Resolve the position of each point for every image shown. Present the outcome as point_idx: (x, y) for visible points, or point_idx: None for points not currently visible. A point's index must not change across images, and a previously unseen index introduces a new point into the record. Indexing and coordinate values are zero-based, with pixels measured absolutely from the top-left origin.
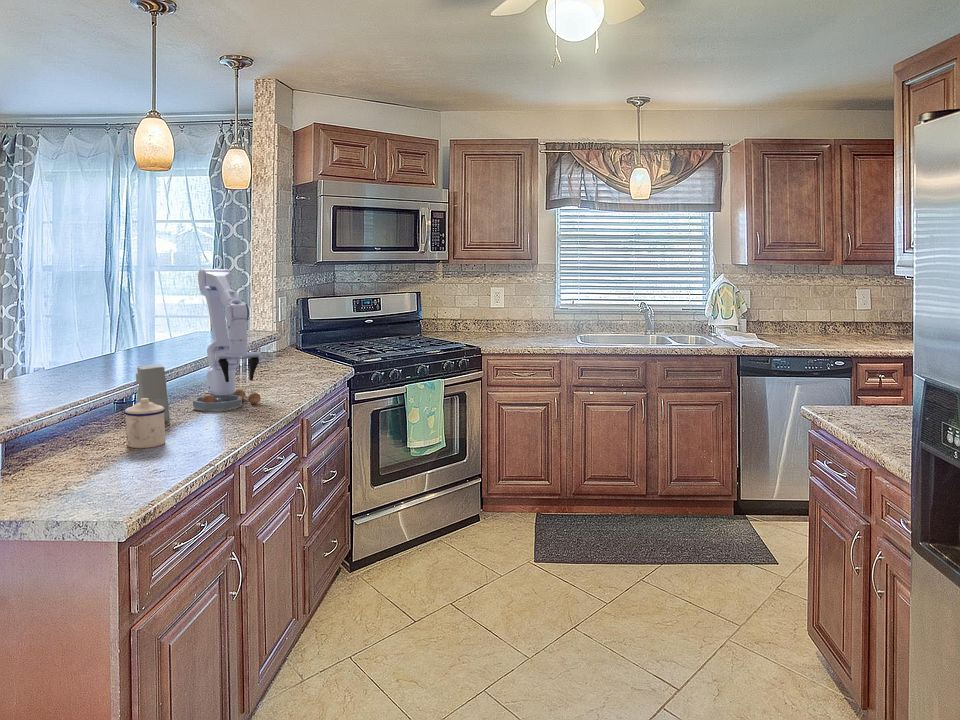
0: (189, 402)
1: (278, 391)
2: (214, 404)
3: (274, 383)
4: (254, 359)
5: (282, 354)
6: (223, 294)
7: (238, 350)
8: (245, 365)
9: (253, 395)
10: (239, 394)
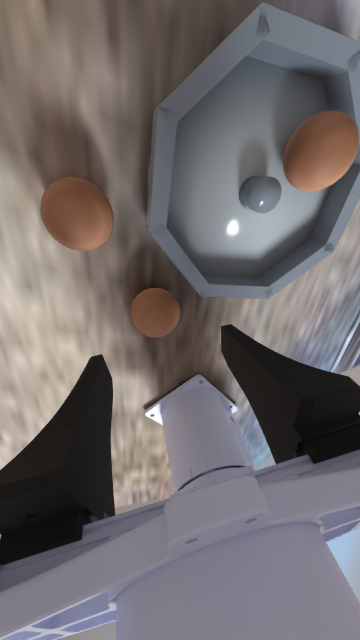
0: (305, 302)
1: (21, 426)
2: (317, 31)
3: None
4: (38, 511)
5: None
6: None
7: (281, 633)
8: None
9: (78, 189)
10: (157, 294)
